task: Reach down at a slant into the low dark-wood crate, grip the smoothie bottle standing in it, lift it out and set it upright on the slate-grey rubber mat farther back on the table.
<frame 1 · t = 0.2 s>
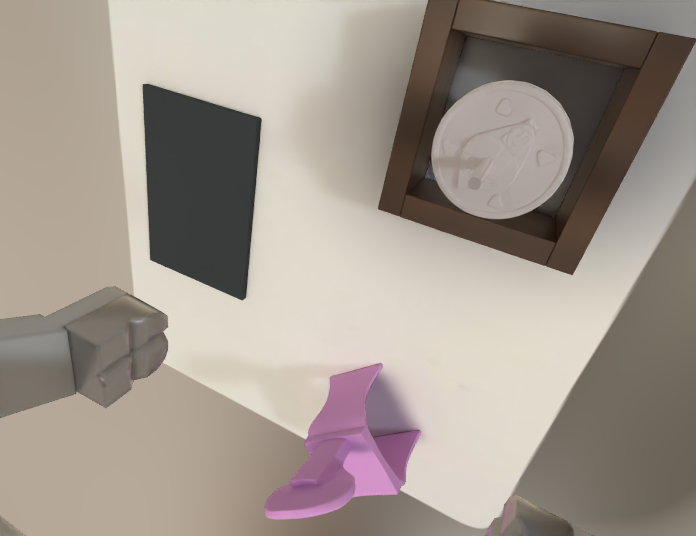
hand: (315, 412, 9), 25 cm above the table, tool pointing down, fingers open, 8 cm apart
toy chair: (376, 404, 43), on the table
mat: (200, 198, 41), on the table
smoothie: (512, 129, 28), resting in crate
crate: (512, 130, 28), on the table
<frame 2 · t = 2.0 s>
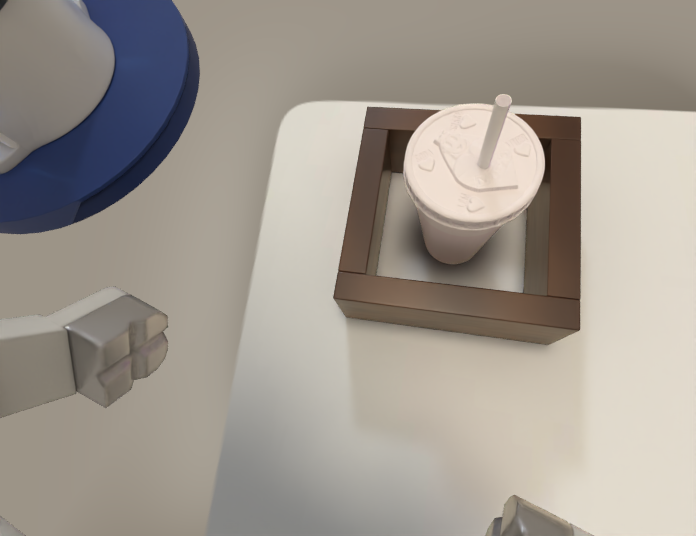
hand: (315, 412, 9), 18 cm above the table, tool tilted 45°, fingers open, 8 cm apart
smoothie: (451, 239, 29), resting in crate
crate: (452, 238, 29), on the table
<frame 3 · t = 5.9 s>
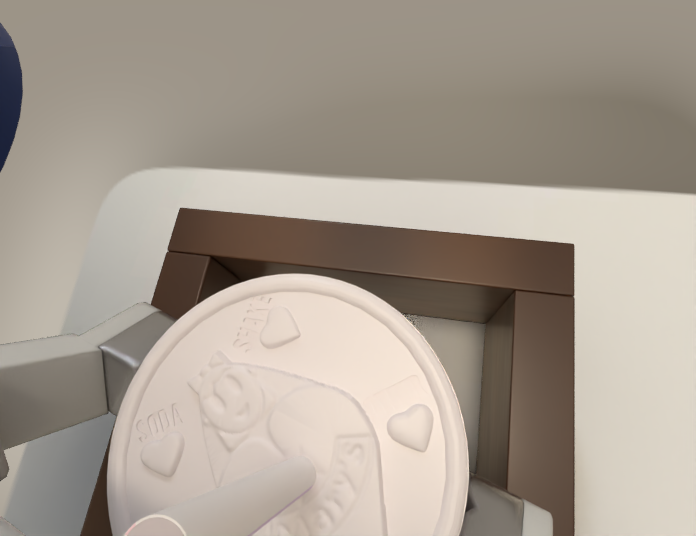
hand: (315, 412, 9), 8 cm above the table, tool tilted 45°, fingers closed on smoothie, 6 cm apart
smoothie: (350, 427, 16), resting in crate, touching gripper
crate: (350, 428, 16), on the table
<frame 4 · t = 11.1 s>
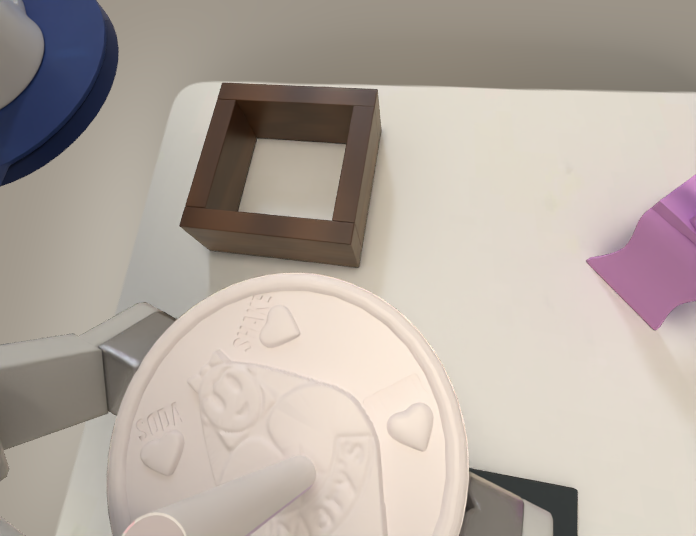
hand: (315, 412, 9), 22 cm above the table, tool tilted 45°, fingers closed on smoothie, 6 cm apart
toy chair: (664, 259, 30), on the table
smoothie: (350, 427, 16), point 14 cm above the table, touching gripper
crate: (297, 188, 36), on the table
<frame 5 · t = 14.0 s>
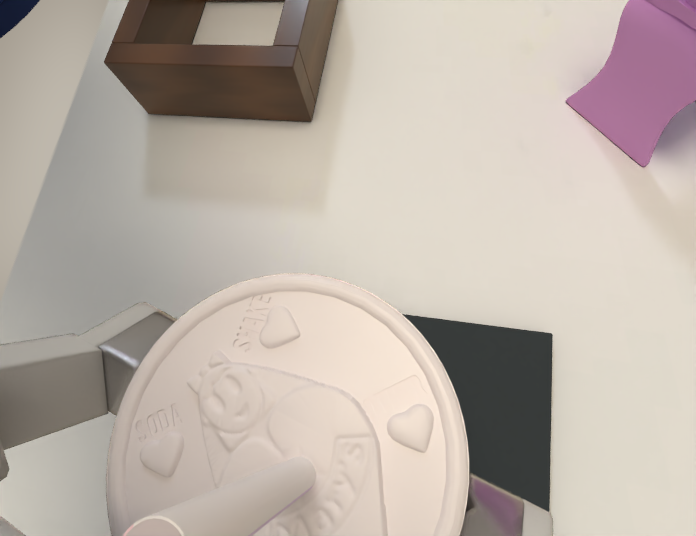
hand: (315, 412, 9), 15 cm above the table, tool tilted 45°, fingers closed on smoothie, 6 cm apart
toy chair: (655, 96, 27), on the table
mat: (368, 423, 23), on the table
smoothie: (350, 427, 16), point 7 cm above the table, touching gripper
crate: (247, 48, 32), on the table
when the fingers open (8 cm above the table, at t = 16.3 s): smoothie stays where it is, resting on mat.
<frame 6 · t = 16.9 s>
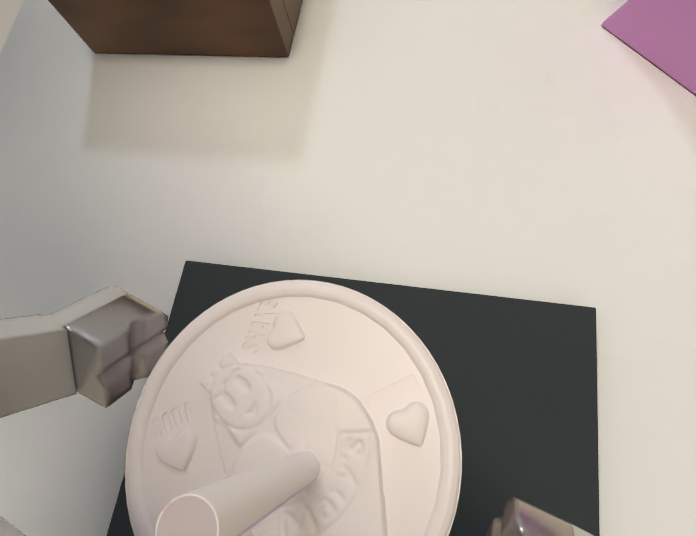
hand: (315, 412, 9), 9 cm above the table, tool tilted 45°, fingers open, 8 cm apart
mat: (354, 426, 17), on the table
smoothie: (351, 426, 17), resting on mat
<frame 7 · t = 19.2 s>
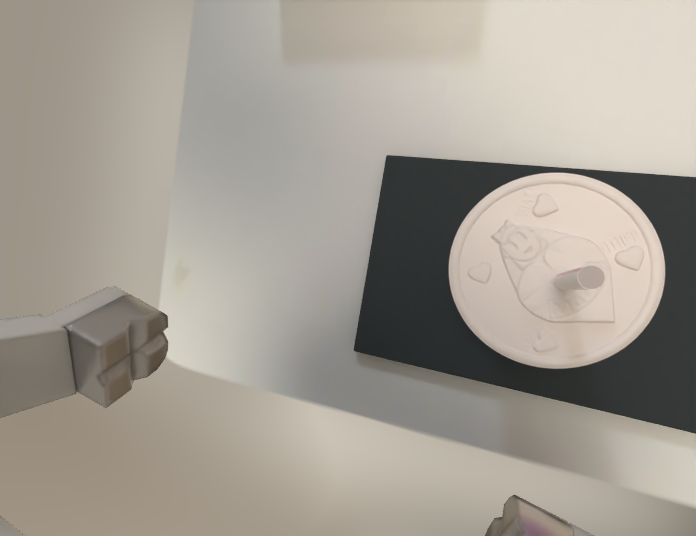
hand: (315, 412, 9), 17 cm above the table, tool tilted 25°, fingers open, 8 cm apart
mat: (528, 278, 23), on the table
smoothie: (528, 277, 23), resting on mat
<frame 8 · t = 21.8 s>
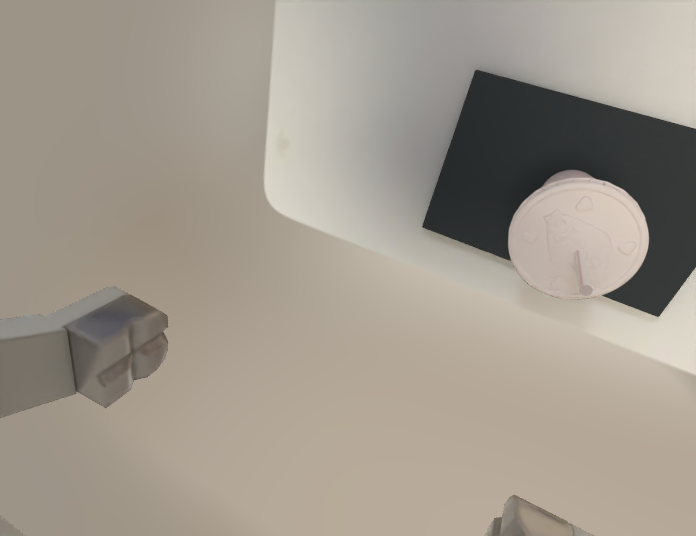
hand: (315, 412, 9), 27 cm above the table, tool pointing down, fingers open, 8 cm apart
mat: (569, 194, 30), on the table
smoothie: (568, 195, 30), resting on mat
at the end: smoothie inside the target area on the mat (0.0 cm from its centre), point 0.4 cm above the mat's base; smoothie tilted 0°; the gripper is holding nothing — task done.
